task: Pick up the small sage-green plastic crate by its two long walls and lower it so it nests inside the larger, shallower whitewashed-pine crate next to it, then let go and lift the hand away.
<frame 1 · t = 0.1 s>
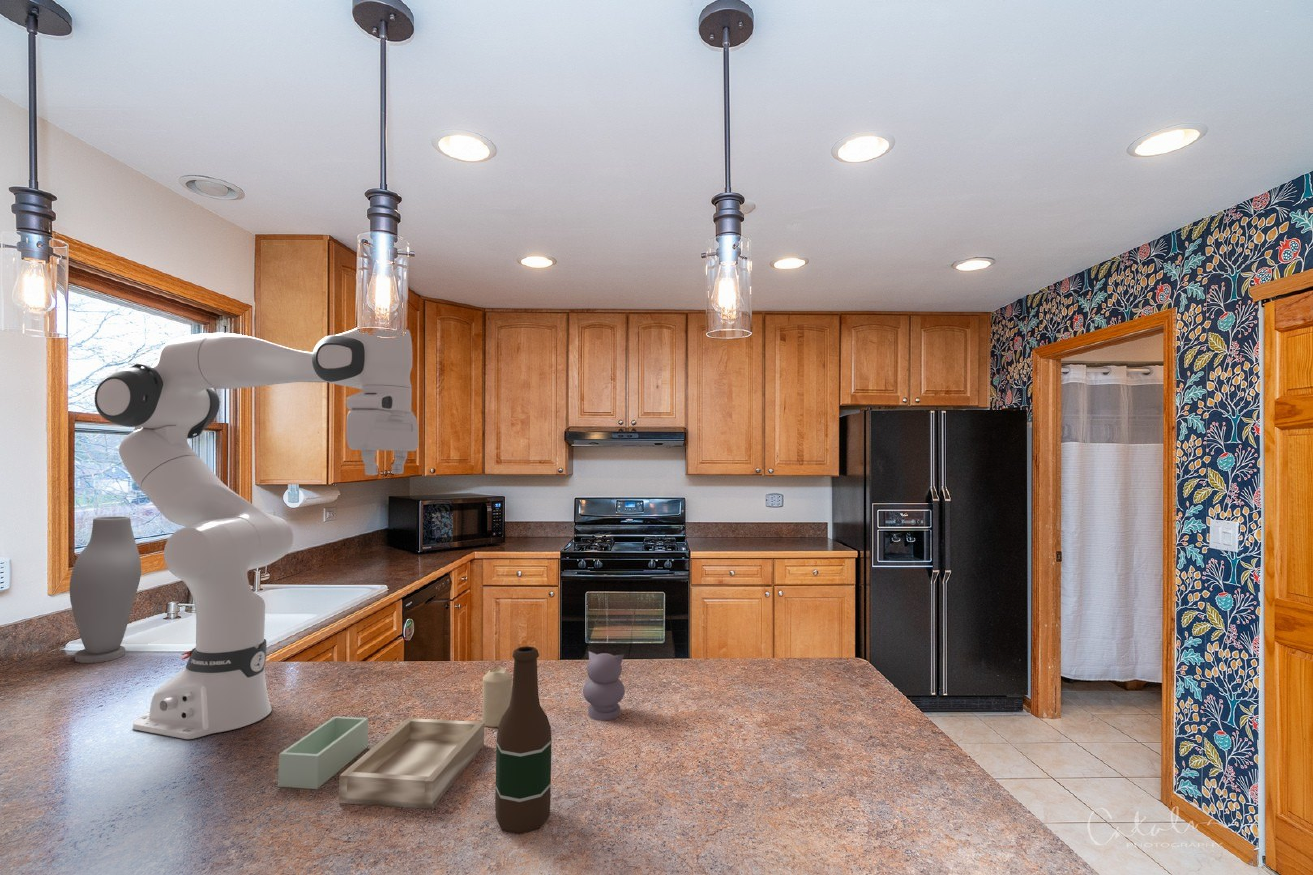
hand: (385, 474, 119), 48 cm above the table, tool pointing down, fingers open, 8 cm apart
pine crate: (418, 770, 101), on the table
candle: (496, 722, 120), on the table
beer bottle: (522, 820, 88), on the table
vase: (103, 657, 156), on the table
green crate: (325, 765, 103), on the table
cat figurine: (603, 714, 125), on the table
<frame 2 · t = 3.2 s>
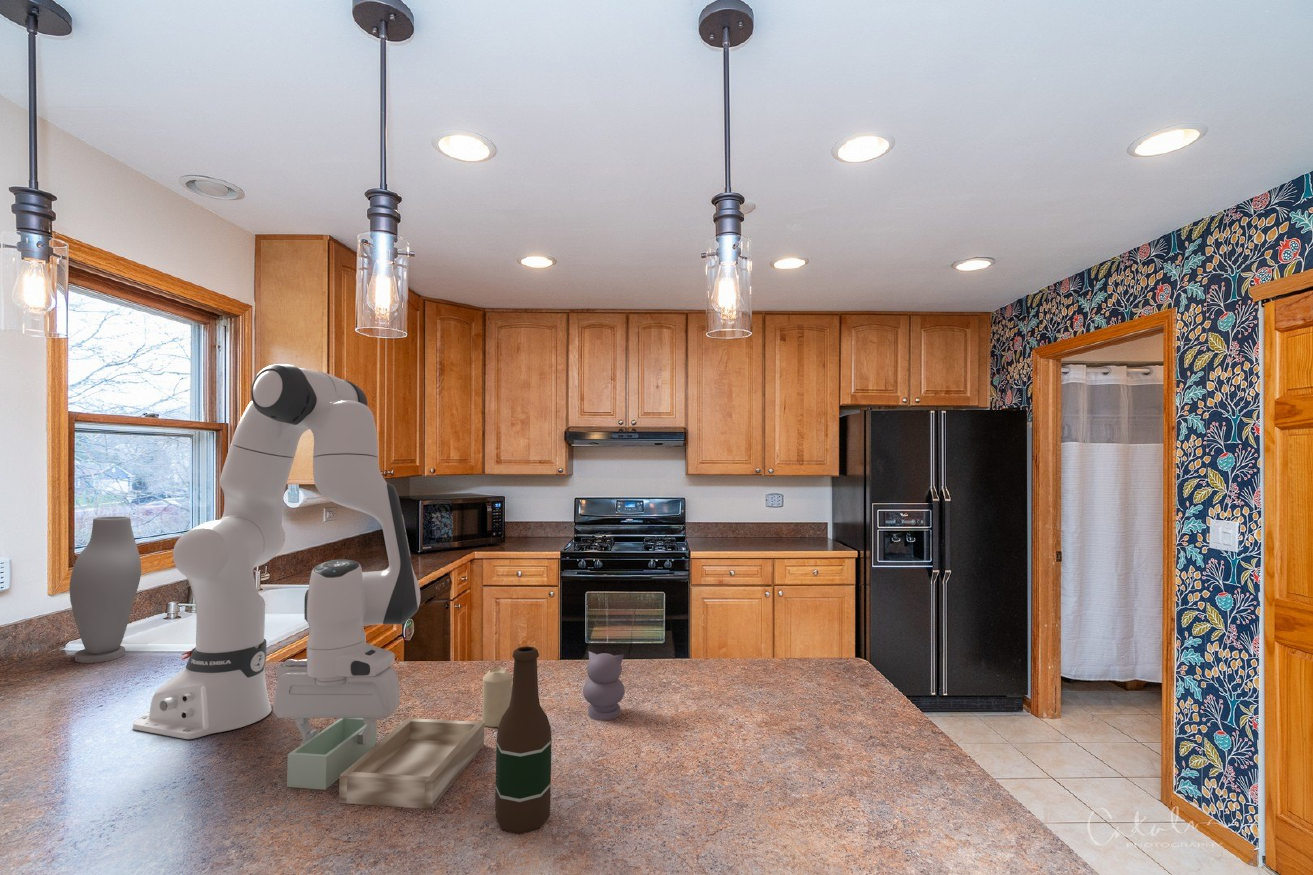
hand: (336, 742, 103), 3 cm above the table, tool pointing down, fingers open, 8 cm apart
green crate: (334, 765, 102), on the table
everything else where it was.
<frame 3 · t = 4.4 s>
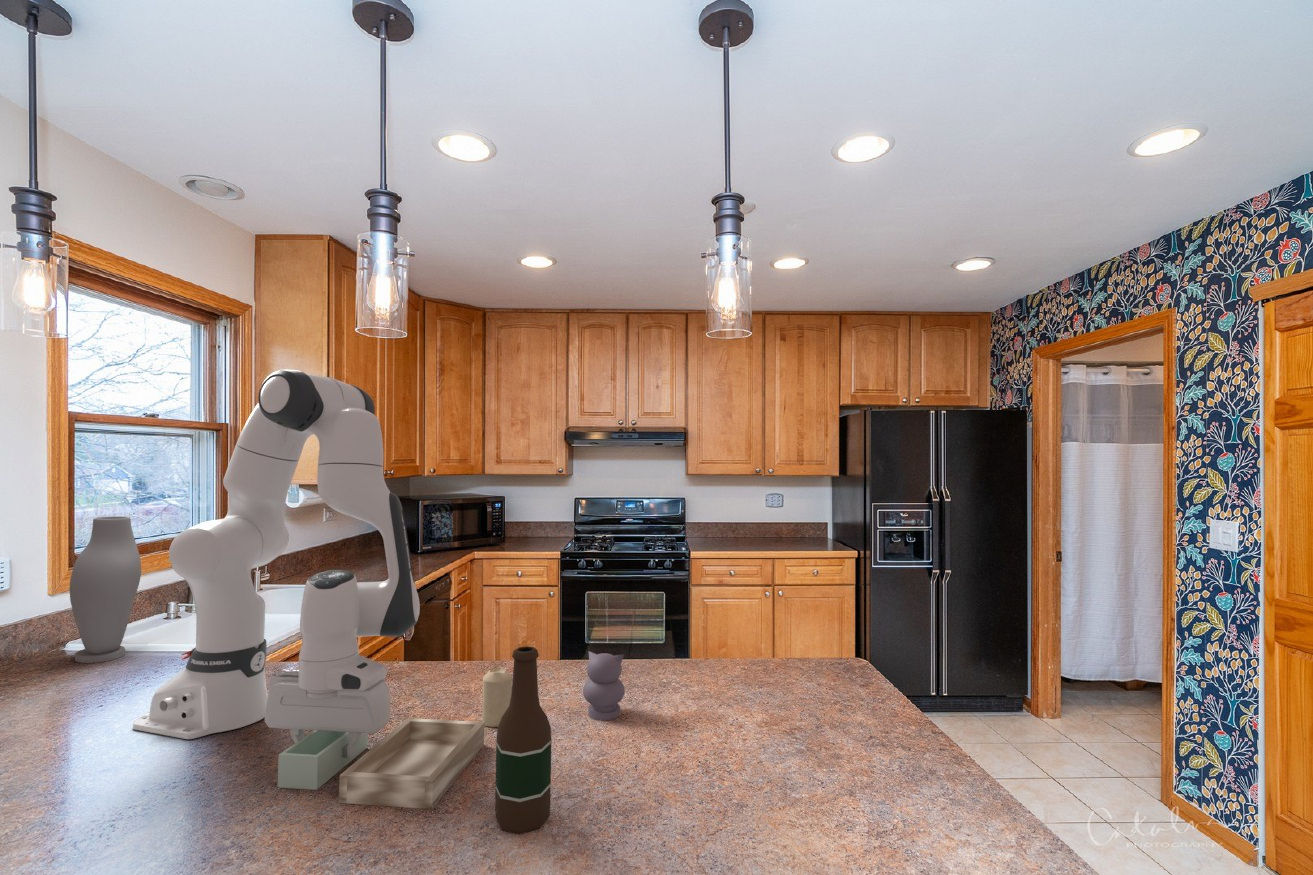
hand: (326, 755, 103), 2 cm above the table, tool pointing down, fingers closed on green crate, 6 cm apart
green crate: (325, 765, 102), on the table, touching gripper
everything else where it was.
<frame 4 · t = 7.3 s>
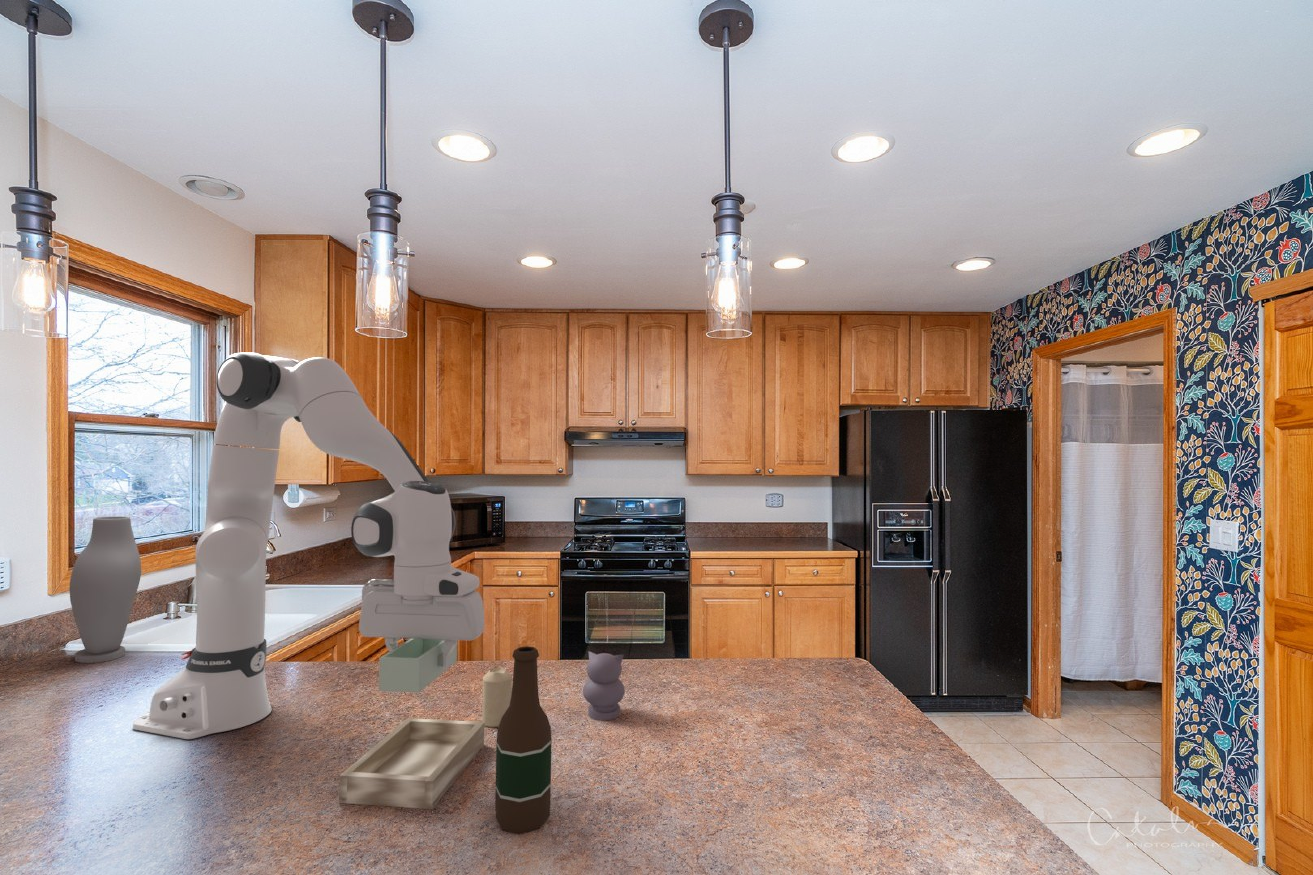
hand: (421, 664, 102), 17 cm above the table, tool pointing down, fingers closed on green crate, 6 cm apart
green crate: (420, 675, 101), point 16 cm above the table, touching gripper
everything else where it was.
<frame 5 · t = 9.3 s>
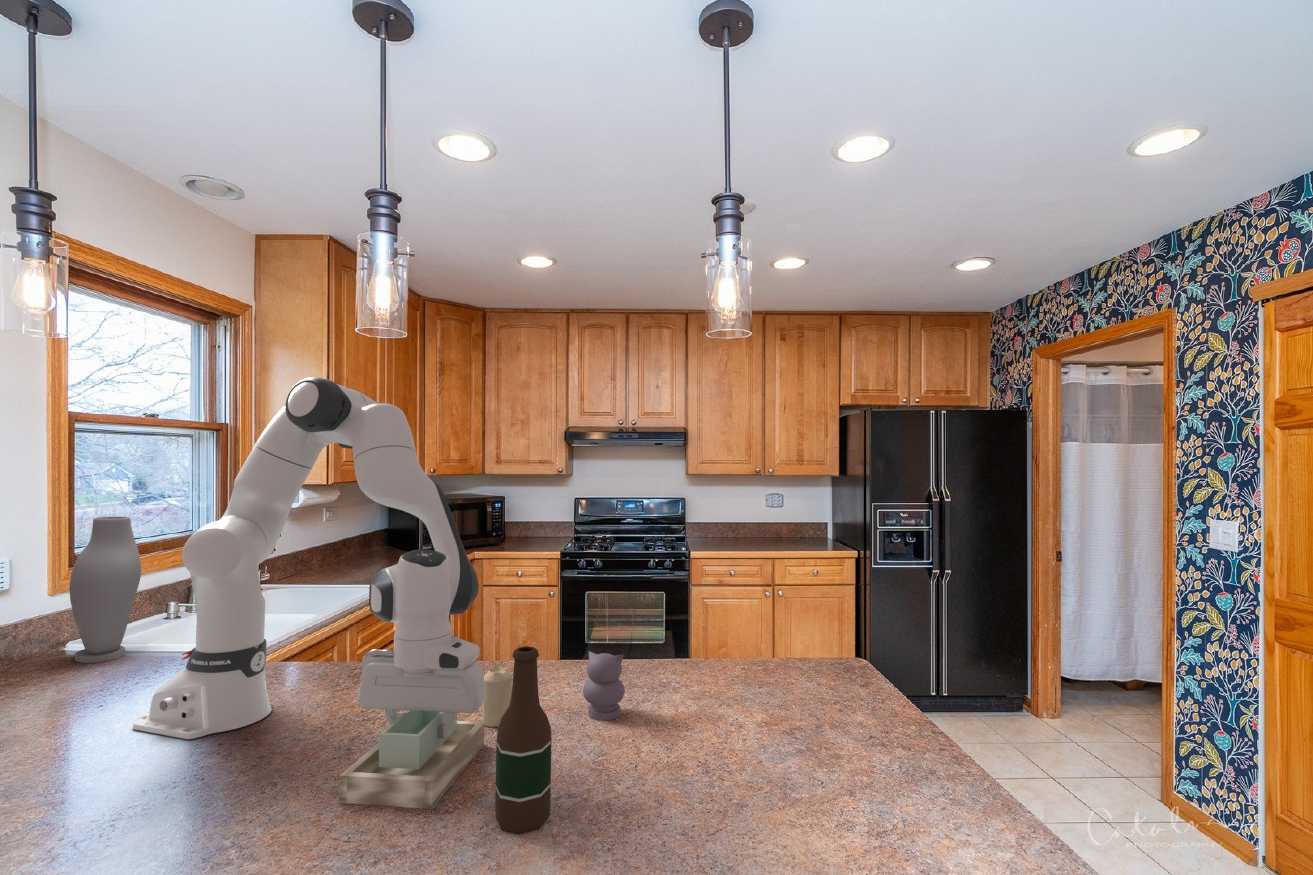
hand: (421, 735, 102), 6 cm above the table, tool pointing down, fingers closed on green crate, 6 cm apart
green crate: (420, 746, 101), point 4 cm above the table, touching gripper
everything else where it was.
when the fingers open (4 cm above the table, at t = 10.7 s): green crate drops 1 cm, resting on pine crate.
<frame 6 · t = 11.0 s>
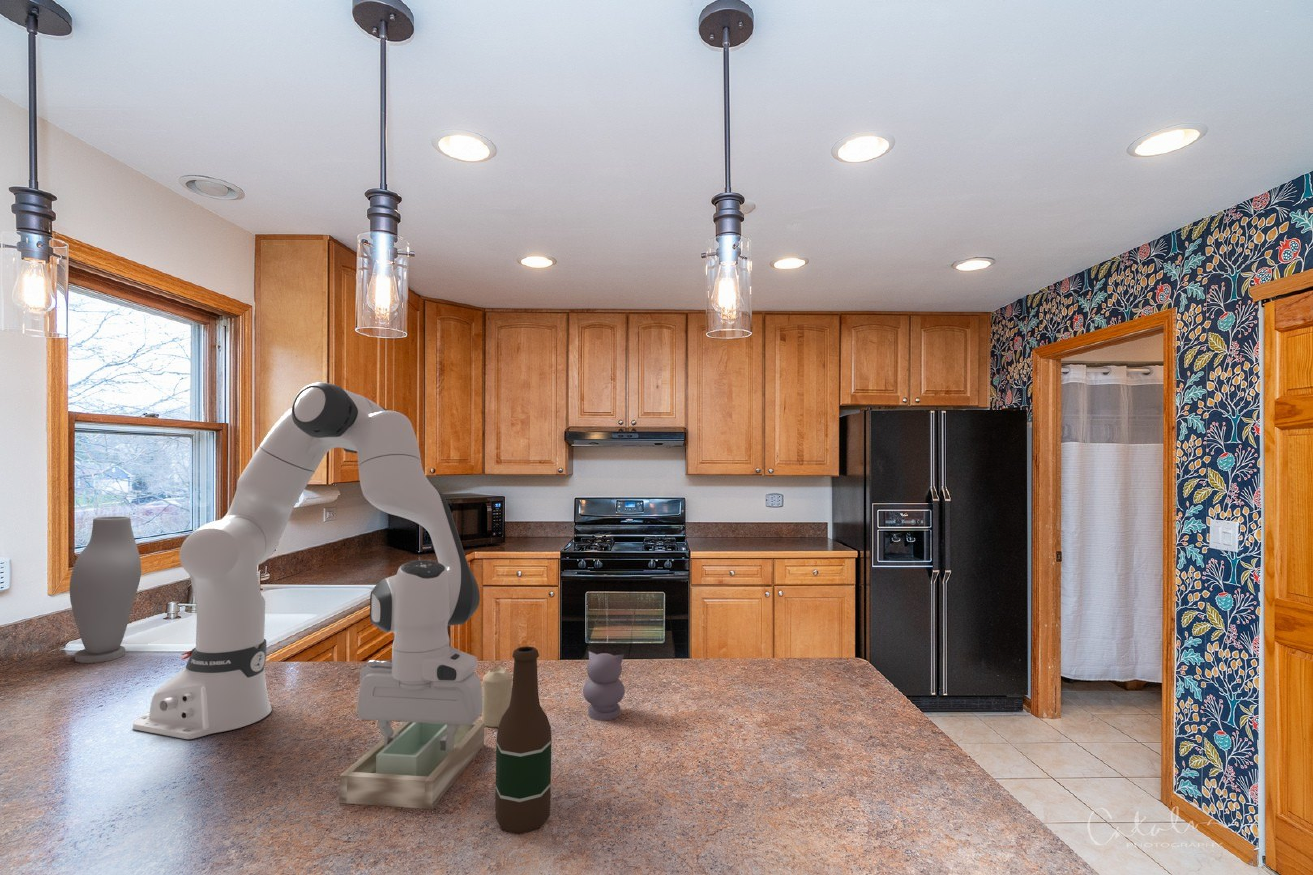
hand: (418, 747, 101), 4 cm above the table, tool pointing down, fingers open, 8 cm apart
green crate: (417, 766, 101), point 1 cm above the table, touching pine crate
everything else where it was.
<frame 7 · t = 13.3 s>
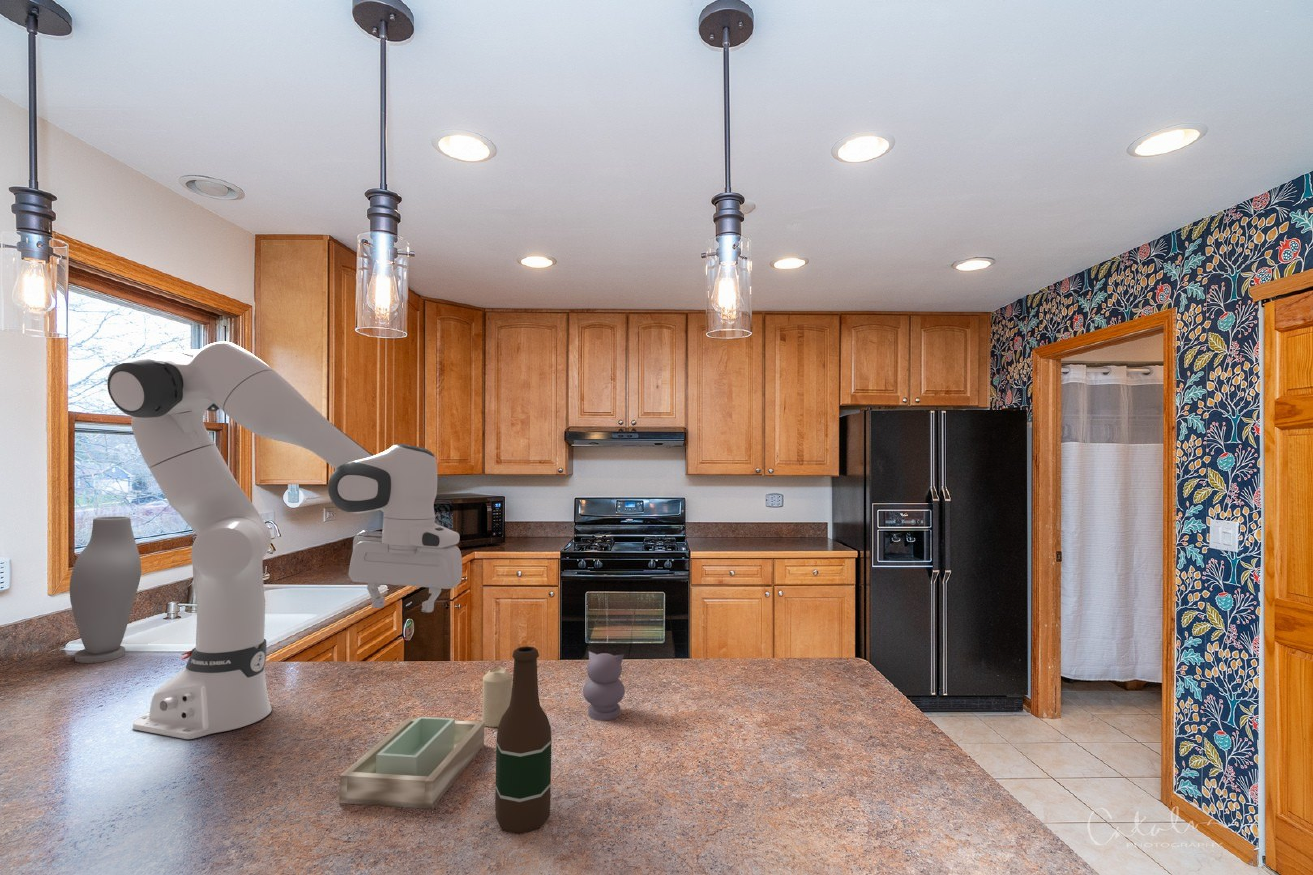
hand: (402, 609, 113), 23 cm above the table, tool pointing down, fingers open, 8 cm apart
nothing on the table moved.
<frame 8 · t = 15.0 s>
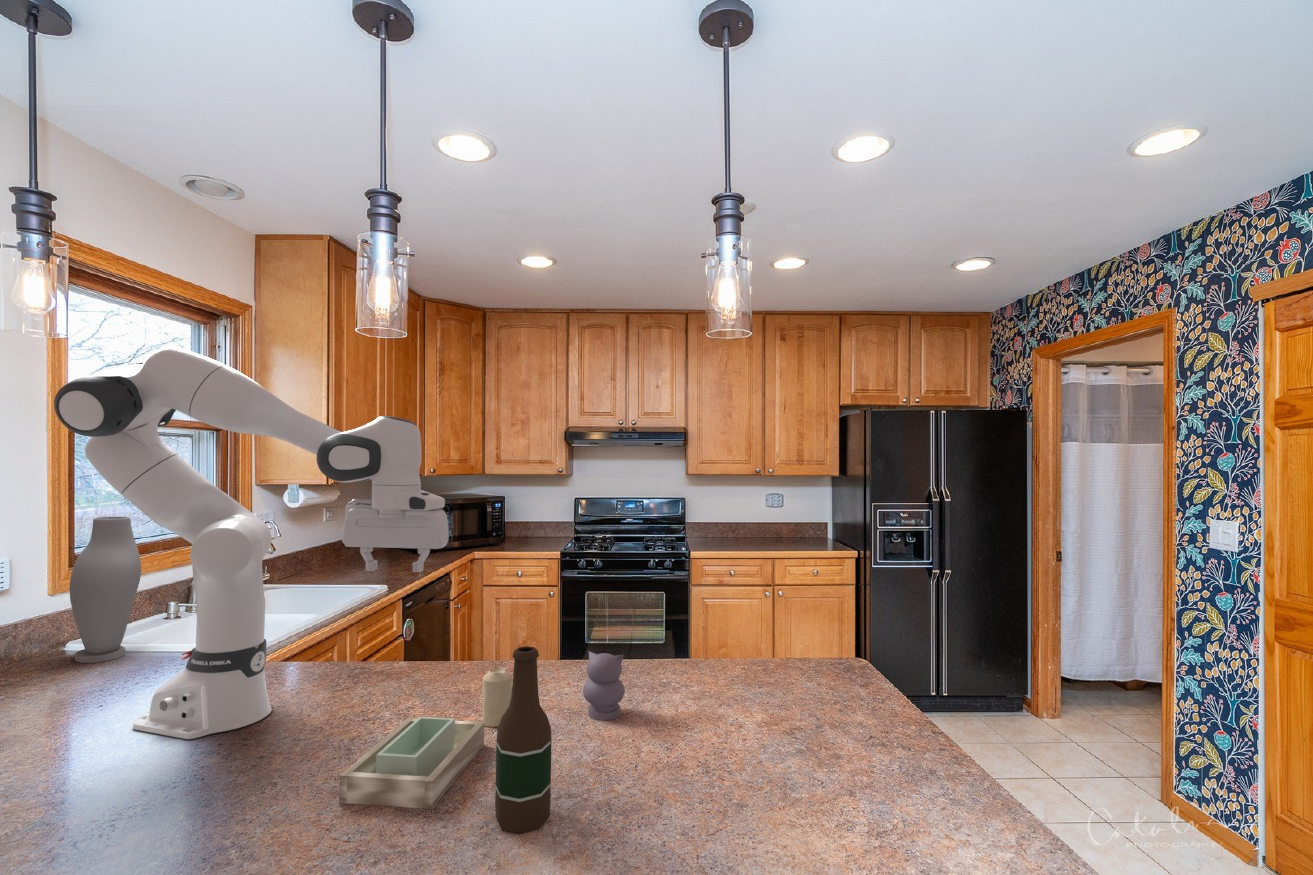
hand: (394, 570, 120), 29 cm above the table, tool pointing down, fingers open, 8 cm apart
nothing on the table moved.
at the end: green crate 0.2 cm off-centre on the pine crate, point 0.8 cm above the pine crate's base; green crate tilted 0°; the gripper is holding nothing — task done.
